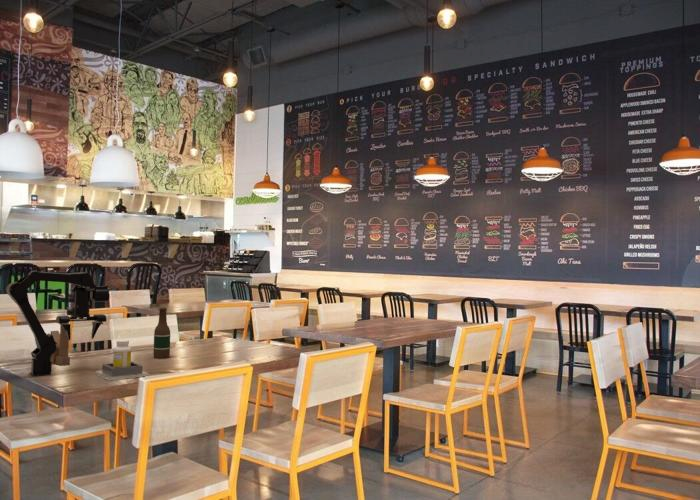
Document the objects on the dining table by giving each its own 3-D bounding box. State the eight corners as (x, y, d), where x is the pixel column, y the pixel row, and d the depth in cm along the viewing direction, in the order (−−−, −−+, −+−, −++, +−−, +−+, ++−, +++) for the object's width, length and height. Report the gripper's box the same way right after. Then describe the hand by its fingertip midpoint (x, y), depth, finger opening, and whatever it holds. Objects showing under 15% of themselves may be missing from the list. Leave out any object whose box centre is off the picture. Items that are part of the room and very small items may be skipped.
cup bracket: (108, 380, 230) (108, 370, 230) (95, 374, 242) (95, 363, 242) (148, 376, 240) (149, 366, 240) (134, 370, 253) (134, 360, 253)
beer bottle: (173, 357, 286) (174, 307, 286) (158, 359, 280) (159, 308, 281) (164, 355, 291) (166, 306, 292) (149, 357, 286) (151, 307, 286)
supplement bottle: (128, 370, 246) (129, 339, 246) (132, 373, 241) (133, 341, 241) (111, 371, 242) (112, 340, 242) (115, 374, 237) (116, 342, 237)
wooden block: (57, 362, 267) (58, 321, 267) (70, 365, 261) (71, 323, 261) (49, 363, 264) (50, 322, 264) (61, 366, 258) (63, 324, 258)
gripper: (99, 300, 262) (98, 335, 261) (53, 301, 250) (51, 338, 249) (107, 302, 253) (106, 338, 253) (60, 303, 241) (58, 341, 241)
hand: (80, 339), depth 249 cm, fingers open, 9 cm apart
